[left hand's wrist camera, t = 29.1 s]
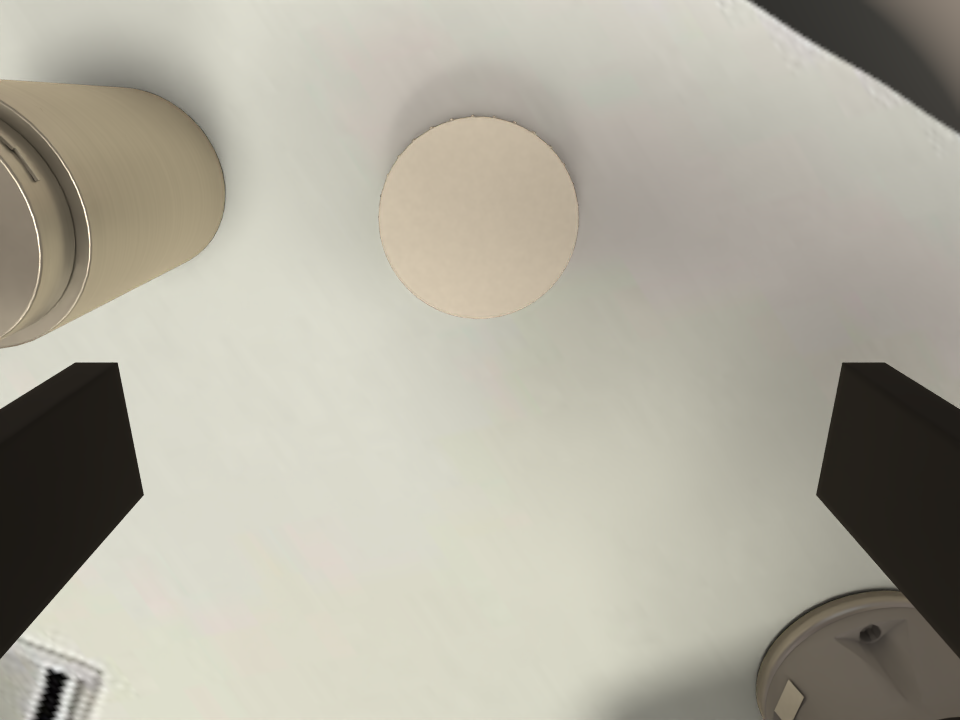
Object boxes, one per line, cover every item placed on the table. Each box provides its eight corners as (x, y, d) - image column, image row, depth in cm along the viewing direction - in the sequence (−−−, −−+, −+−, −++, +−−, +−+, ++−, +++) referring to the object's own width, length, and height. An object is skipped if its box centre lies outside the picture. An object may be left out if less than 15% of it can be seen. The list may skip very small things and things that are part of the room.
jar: (116, 45, 34) (-155, -4, 20) (261, 186, 36) (117, 237, 22) (9, 178, 36) (-304, 224, 22) (153, 304, 39) (-43, 420, 24)
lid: (440, 338, 39) (438, 351, 37) (347, 174, 36) (338, 177, 34) (604, 257, 38) (612, 266, 36) (522, 77, 35) (524, 74, 32)
